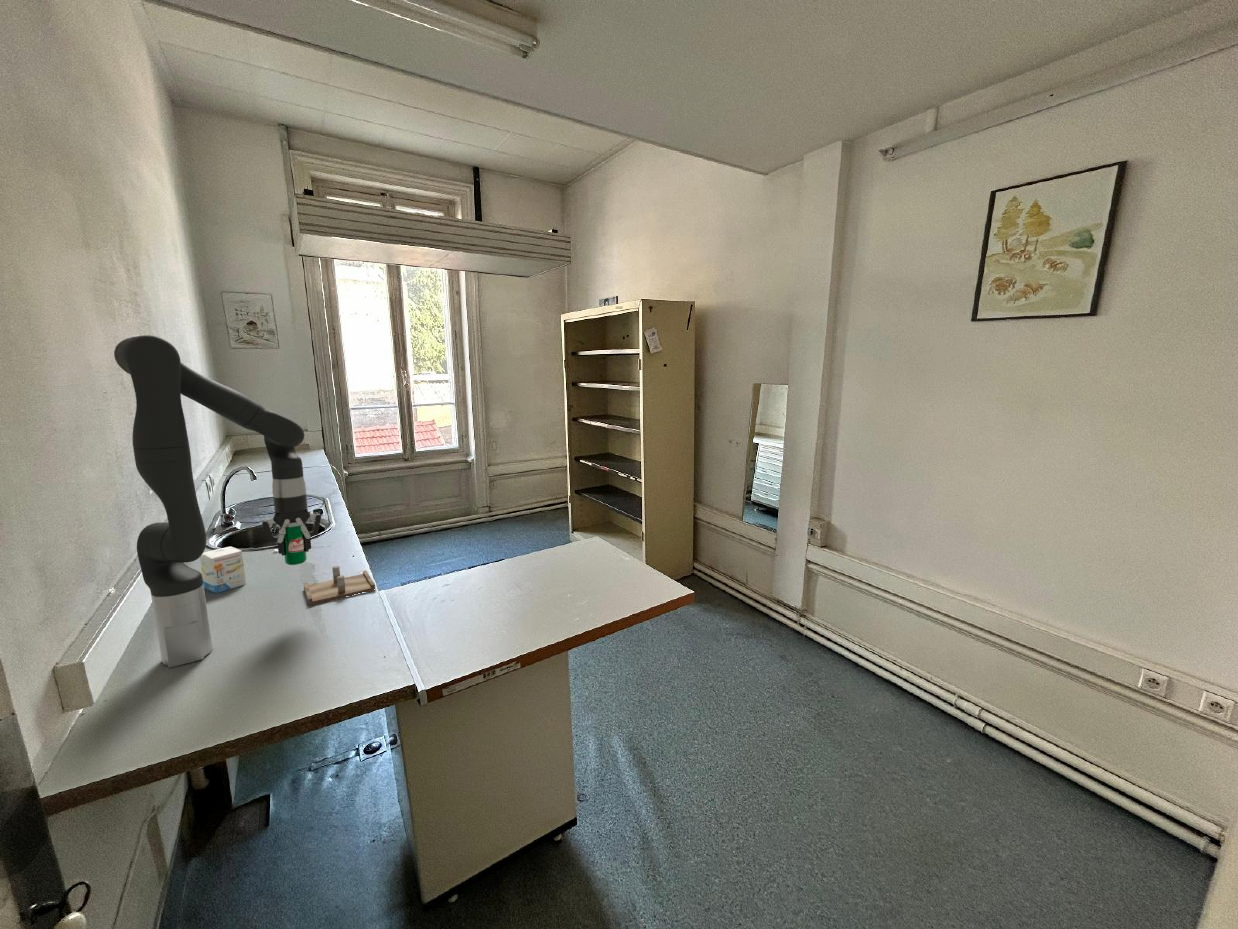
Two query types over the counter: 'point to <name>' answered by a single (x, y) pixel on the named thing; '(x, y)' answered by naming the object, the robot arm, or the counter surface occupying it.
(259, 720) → the counter surface
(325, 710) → the counter surface
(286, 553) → the soda can
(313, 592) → the tray
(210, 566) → the ink box
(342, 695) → the counter surface
